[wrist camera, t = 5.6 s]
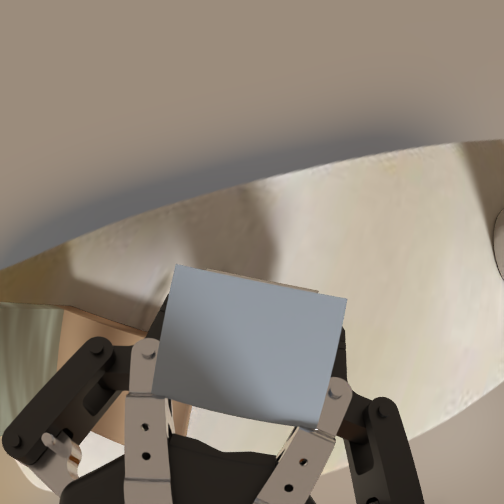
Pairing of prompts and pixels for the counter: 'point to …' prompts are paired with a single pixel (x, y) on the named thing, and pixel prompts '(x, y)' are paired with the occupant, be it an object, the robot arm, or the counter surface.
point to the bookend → (59, 358)
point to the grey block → (247, 346)
